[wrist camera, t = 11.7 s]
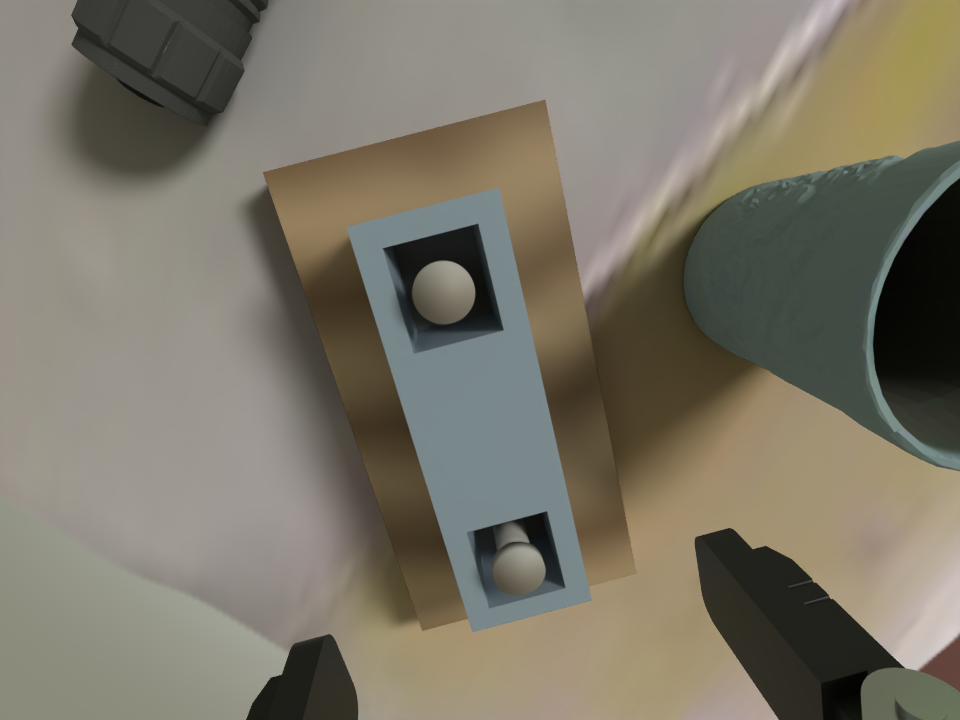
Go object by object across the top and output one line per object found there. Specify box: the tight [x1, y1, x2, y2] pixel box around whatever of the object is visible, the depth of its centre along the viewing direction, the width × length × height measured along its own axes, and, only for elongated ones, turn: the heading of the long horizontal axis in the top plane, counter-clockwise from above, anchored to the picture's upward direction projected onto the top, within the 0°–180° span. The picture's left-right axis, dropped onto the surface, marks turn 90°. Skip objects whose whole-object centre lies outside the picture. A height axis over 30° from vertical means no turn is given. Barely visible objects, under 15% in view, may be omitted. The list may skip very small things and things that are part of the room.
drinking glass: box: [683, 141, 960, 471], centre depth 20 cm, size 10×10×12 cm
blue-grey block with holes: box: [346, 188, 592, 632], centre depth 22 cm, size 18×6×4 cm, turn 14°
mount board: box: [263, 100, 636, 631], centre depth 23 cm, size 24×12×7 cm, turn 14°
